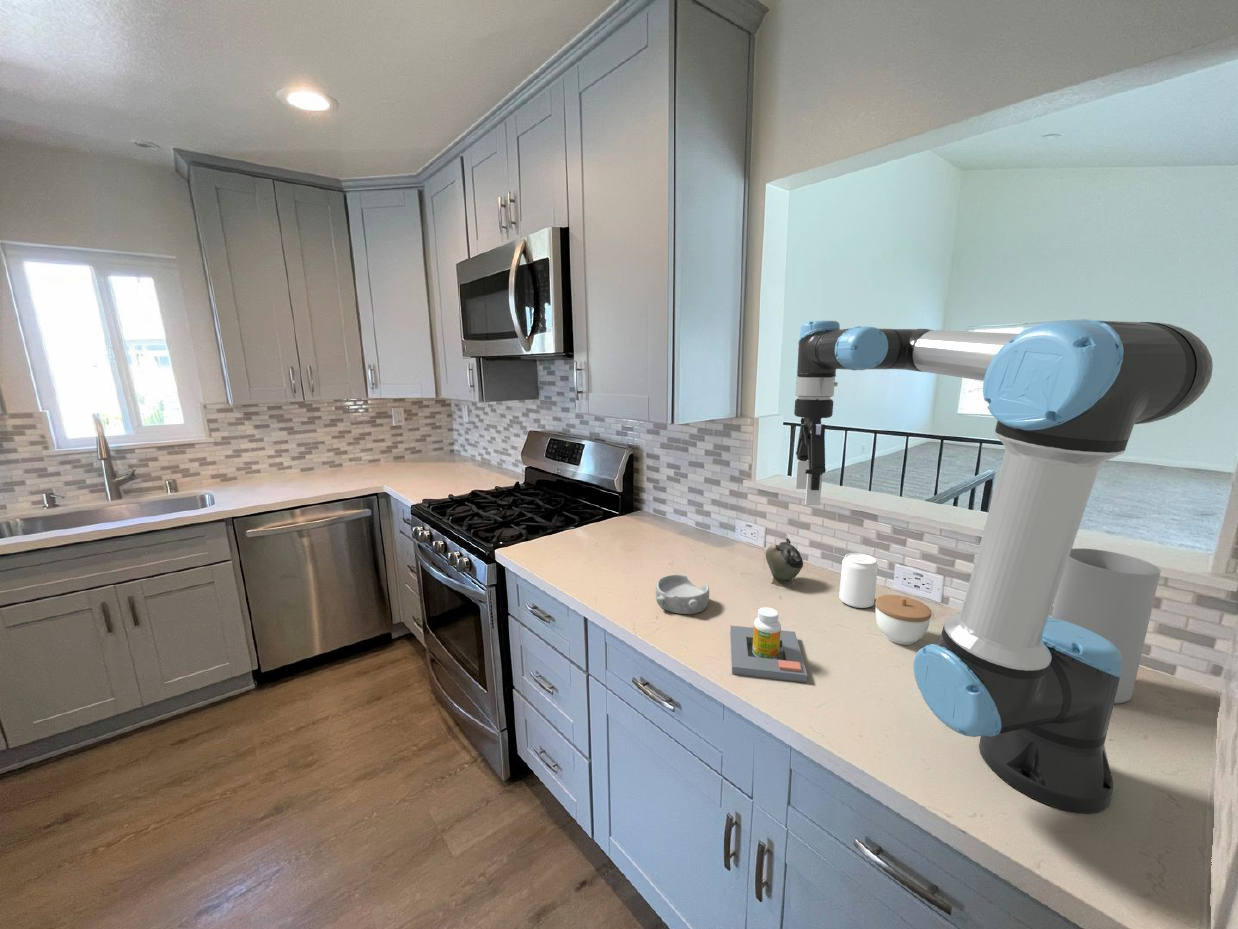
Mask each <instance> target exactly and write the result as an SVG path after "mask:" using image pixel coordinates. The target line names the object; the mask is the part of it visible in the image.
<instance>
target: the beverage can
mask: <svg viewBox="0 0 1238 929" xmlns="http://www.w3.org/2000/svg"><path fill="white" fill-rule="evenodd" d="M878 569H879V565H878V563H877V559H876V558H875V557H873V556H872V555H868V554H865V553H859V552H851V553H847V554H845V555H844V558H843V559H842V562H841V574H840V583H839V591H838V592H839V594H838V597H839V600H840V601H841V602H842V603H843V604H846V605H847V606H849V607H853V608H858V609H866V608H867V609H868V608H871V607H873V606H874V605H875V597H876V588H877V578H878Z"/></svg>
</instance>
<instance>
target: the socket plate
mask: <svg viewBox="0 0 1238 929" xmlns="http://www.w3.org/2000/svg"><path fill="white" fill-rule="evenodd" d="M729 631H730V632H729V635H730V636H729V637H730V655H731V656H730V658H731V659H730V660H731V674H732V675H737V676H745V677H746V676H747V677H755V678H763V679H771V680H780V681H789V682H797V683H808V673H807V669H806V666H805V663H804V659H803V655H802V652H801V648H800V645H799V641H798V637H797V635H796V634H797V633H796V631H790V630H782V629H781V634H780V647H779V657H778V658H777V659H768V658H759V657H756V656H755V655H754V654H753V652H752V648H753V631H754V627H752V626H751V627H748V626H739V625H730V630H729Z"/></svg>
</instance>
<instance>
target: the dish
mask: <svg viewBox="0 0 1238 929" xmlns="http://www.w3.org/2000/svg"><path fill="white" fill-rule="evenodd" d="M655 599H656V602H657V605H659V607H661V609H663V610H665V611H668V612H670V613H675V614H681V615H693V614H699V613H700V612H701V613H702V611H705V609H706V608H707V607H708V603H709V600H710V588H709V585H708V583H707V584H704V585H703V586H702V587H701V588H699V587H696V586H695V585H694V584H693V583H692V582H691V581H690V580H689V579H688V577H687V575H686V574H682V573H681V574H679V573H678V574H677V573H676V574H668V575H665V576H662V577H660V578H659V579H658V580H657V582H656V586H655Z"/></svg>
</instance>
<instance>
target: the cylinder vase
mask: <svg viewBox="0 0 1238 929" xmlns="http://www.w3.org/2000/svg"><path fill="white" fill-rule="evenodd" d="M1160 575H1161V568H1160V567H1158V566H1157V565H1155V564H1153V563H1151V562H1149V561H1146V560H1145V559H1141V558H1138V557H1136V556H1131V555H1128V554H1125V553H1119V552H1115V551H1111V550H1104V549H1097V548H1089V547H1087V548H1086V547H1072V550H1071V552H1070V555H1069V558H1068V561H1067V564H1066V567H1065V570H1064V573H1063V576H1062V579H1061V582H1060V585H1059V588H1058V591H1057V594H1056V597H1055V600H1054V603H1053V607H1052V608H1053V609H1052V614H1051V617H1052V618H1056V619H1059V620H1063V621H1066V622H1069V623H1072V624H1075V625H1078V626H1080V627H1083V628H1085V629H1088V630H1090V631H1092V632H1094V633H1096V634H1098V635H1100V636H1102V637H1104V638H1105V639H1107V640H1109V641H1110V642H1111V643H1113V644H1114V645H1115V646H1116V648H1118V649H1119V651H1120V652H1121V654H1122V664H1121V673H1122V677H1120V679H1119V683H1118V688H1117V692H1116V696H1115V701H1114V704H1123V703H1126V702H1129V701H1130V700H1131V698H1132V697H1133V693H1134V688H1135V685H1136V681H1137V677H1138V676H1137V675H1138V672H1139V667H1140V663H1141V660H1142V659H1141V658H1142V654H1143V649H1144V645H1145V640H1146V637H1147V632H1148V630H1149V624H1150V620H1151V615H1152V610H1153V607H1154V602H1155V598H1156V593H1157V589H1158V584H1159V580H1160Z"/></svg>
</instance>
